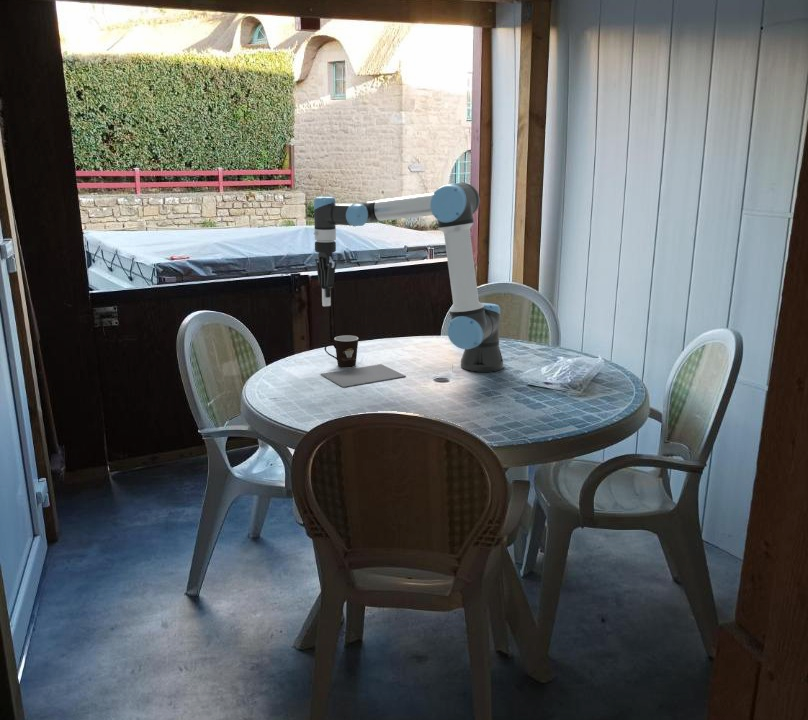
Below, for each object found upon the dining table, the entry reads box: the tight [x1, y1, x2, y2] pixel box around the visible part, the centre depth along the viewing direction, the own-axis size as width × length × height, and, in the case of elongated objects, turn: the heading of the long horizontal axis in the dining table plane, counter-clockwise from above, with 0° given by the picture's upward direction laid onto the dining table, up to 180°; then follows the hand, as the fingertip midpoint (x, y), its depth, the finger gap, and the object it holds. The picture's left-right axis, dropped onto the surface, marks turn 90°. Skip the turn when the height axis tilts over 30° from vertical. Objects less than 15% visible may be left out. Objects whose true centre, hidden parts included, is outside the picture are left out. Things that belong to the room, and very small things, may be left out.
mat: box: [320, 363, 407, 388], centre depth 260 cm, size 17×24×1 cm
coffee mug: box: [324, 335, 359, 368], centre depth 271 cm, size 12×9×10 cm
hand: (326, 305), depth 277 cm, fingers closed
